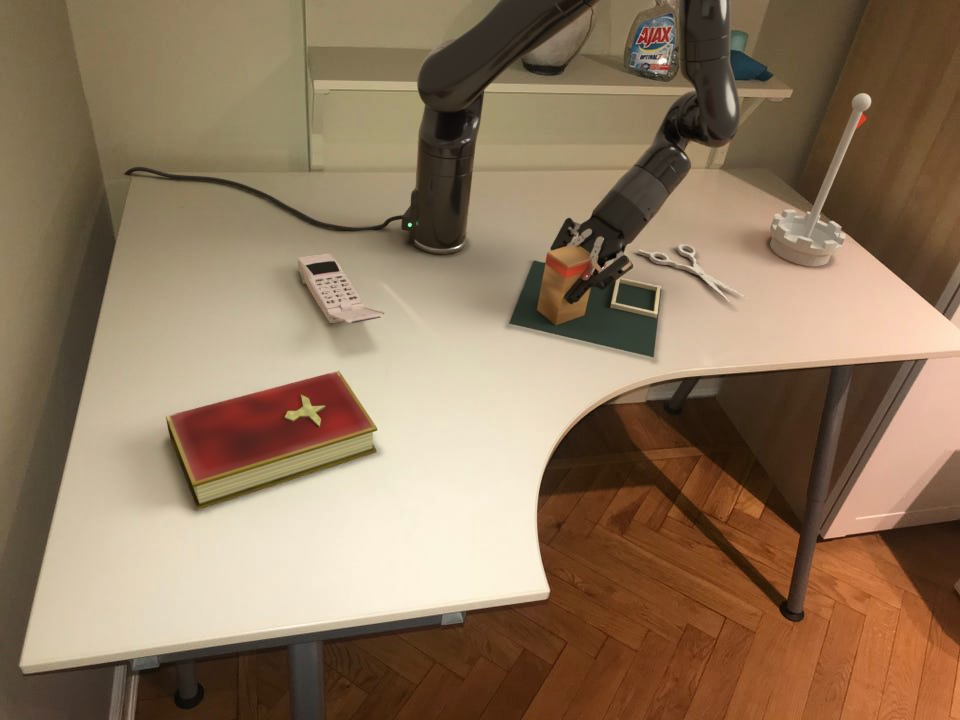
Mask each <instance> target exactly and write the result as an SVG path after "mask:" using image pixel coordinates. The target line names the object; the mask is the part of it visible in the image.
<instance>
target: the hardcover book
mask: <svg viewBox="0 0 960 720" xmlns="http://www.w3.org/2000/svg"><path fill="white" fill-rule="evenodd" d="M165 421H166V425H167V431H168V436H169V440H170V443H171V445H172V448H173V451H174V453H175V456H176V458H177V462H178V463H179V467H180V469H181V471H182V474H183V476H184V479H185V482H186V484H187V487H188V489H189V492H190V495H191V497H192V500H193V504H194V505H195V508H196V510H197V511H199V510H202V509H205V508H208V507H211V506H214V505H217V504H221V503H223V502H227V501H230V500H233V499H236V498H239V497H242V496H245V495H248V494H251V493H255V492H257V491H261V490H263V489H267V488H270V487H274V486H276V485H279V484H283V483H285V482H288V481H291V480H295V479H298V478H302V477H304V476H308V475H310V474H313V473H316V472H320V471H322V470H325V469H329V468H331V467H334V466H338V465H341V464H344V463H347V462H351V461H353V460H357V459H360V458H363V457H366V456H368V455H369V456H370V455H373V454H375V453H377V452H378V451H377V448H376V446H375V445H374V443H373V439H374V438H373V436H374V432H378V427H377V425H376V424H375V422H374V421H373V420H372V418H371V417H370V415H369V413H368V412H367V410H366V409H365V407H364V405H363V404H362V402H361V401H360V400H359V398H358V397H357V395H356V394H355V392H354V391H353V389H352V388H351V386H350V385H349V383H348V382H347V380H346V378H345V377H344V376H343V374H342V373H341V372H340V370H336V371H333V372H332V371H331V372H328V373H325V374H321V375H317V376H313V377H310V378H305V379H302V380H298V381H294V382H290V383H287V384H283V385H279V386H276V387H275V386H274V387H271V388H267V389H264V390H260V391H255V392H252V393H248V394H246V395H241V396H238V397H234V398H230V399H226V400H223V401H219V402H214V403H211V404H206V405H203V406H199V407H195V408H192V409H188V410H184V411H181V412H175V413H173V414H169V415H165Z"/></svg>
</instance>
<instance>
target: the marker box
mask: <svg viewBox="0 0 960 720" xmlns="http://www.w3.org/2000/svg"><path fill="white" fill-rule="evenodd" d="M590 254H591V253H589V252H588V251H586V250H585V249H584V248H582V247H581V246H577V247H575V246H573V245H569V246H566V247H562V248H559V249H555V250H552V251H551V250H549V251H547V253H546V256H545V257H546V258H545V262H544V263H545V269H544V274H543V280H542V285H541V290H540V296H539V301H538V306H537V311H539V312H540V313H541V314H542V315H544V316H545V317H546V318H547V319H548V320H550V321H551V322H552V323H553V324H555V325H558V324H561V323H564V322H566V321H569V320H572V319H575V318H578V317H580V316H583V315H585V310H586V306H587V302H588V298H589V293H590V289H591V288H589V289H588V290H587V292H586V293H585V294H584V295H583V296H582V297H581V299H580V300H579V301H578V302H576V303H575V302H574V303H573V304H570V303H568V302H567V301H566V300H565V299H564V295H565V294H566V293H567V292H568V290H569V289H570V288H571V287H572V286H573V285H574V283H575V282H576V281H577V280H578V279H579V278H580V279H582V275H583V273H584V271H585V270H586V269H587V268H588V267H589V263H590V261H591V260H592V258H590V257H589V256H590ZM597 261H598V260H597Z"/></svg>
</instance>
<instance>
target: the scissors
mask: <svg viewBox="0 0 960 720" xmlns="http://www.w3.org/2000/svg"><path fill="white" fill-rule="evenodd" d="M685 249H686V250H688V251H690V252H687V251H685ZM696 251H697V250H696V249H695V248H694V247H693V246H692V245H689V244H685V243H682V244H679V245H678V246H677V252H678V254H679V255H680V256H682V257H686V258H688V259H689V260H690V261H691V264H692V266H691V265H688V264H681V263H679V262H676V261H674V260H672V259H671V258H670V257H669V255H668V254H666V253H663V252H659V251H652V252H649V251H645V250H643V249H639V250H638V252H637V253H638V255H640V256H641V255H642V256H645V257H647V258H648V259H649V260H650V261H651V262H653V263H654V264H657V265H661V266H662V265H663V266H671V267H674V268H676V269H682V270H685V271H687V272H688V273H691V274H693V275H696V276H699V277H700V278H701V279H702V280H703V281H704V282H705V283H706V284H708V286H709V287H711V288H712V289H713V290H714V291H715V292H716V293H717V294H719V295H720V296H721V298H723V299H725V301H727V302H728V303H730V304H731V305H733V303H732V302H731V301H730V300H729V298H728V297H726V295H725V294H724V293H723V292H722V291H721V290H720V288H718V286H717V285H719V286H720V287H723V288H725V289H727V290H729V291H731V292H734V293H735V294H738V295H740V296H742V297H744V298H746V299H748V297H747V296H746V295H743V294H742V293H740V292H739V291H737V290H735V289H733V288H732V287H730V286H728V285H727V284H725V283H724V282H723V281H720V280H718V279H717V278H714V277H713V276H711V275H710V274H708V273H706V271H705V270H704V269H703V268H702V267H701V266H700V265H699V264H698V263H697V258H695V256H696ZM657 257H658V258H661V259H658V258H657Z"/></svg>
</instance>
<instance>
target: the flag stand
mask: <svg viewBox="0 0 960 720" xmlns="http://www.w3.org/2000/svg"><path fill="white" fill-rule="evenodd" d="M871 104H872V98H871V96H870V95H869V94H867V93H864V92H863V93H862V92H861V93H858V94H856V95H855V96H854V97H853V98H852V101H851V107H852V111H851V114H850V116H849V119H848V121H847V124H846V126H845V129H844V131H843V134H842V136H841V139H840V141H839V144H838V145H837V148H836V150H835V152H834V156H833V157H832V160H831V163H830V165H829V167H828V169H827V171H826V174H825V177H824V179H823V182H822V184H821V187H820V189H819V192H818V194H817V195H816V198H815V201H814V204H813V206H812V208H811V211H806V213H805V215H800V214H799V215H797V213H798V212H797V211H796V209H783V210H782V212H781V214H779V213H775V214H774V216H773V219H772V222H771V224H770V228H769V230H770V234H771V235H772V237H771V240H770V243H769V246H770V248H771V251H773V252H774V254H776V255H777V256H779V257H781V258H782V259H784V260H785V261H788V262H791V263H793V264H797V265H801V266H806V267H820V266H824V265H826V264H828V263H829V262H830V259H831V256H832V255H833V254H836V253H838V252H840V250H841V249H842V246H843V244H844V242H845V240H846V238H847V234H846V233H844V232H840V231H841V230H842V229H843V228H842V226H841V225H840V224H838V223H837V222H835V221H834V220H831V221H828V223H825V222H823V221H820V218H821V214H820V213H821V211H822V209H823V207H824V205H825V202H826V200H827V197H828V195H829V193H830V190H831V189H832V186H833V184H834V180H835V178H836V176H837V174H838V172H839V169H840V167H841V164H842V162H843V159H844V157H845V155H846V152H847V150H848V147H849V145H850V143H851V140H852V139H853V136H854V133H855V131H856V130H857V129H858V128H859V127H861V125H862V124H863V123H864V122H865V121H866V120H867V119H868V118H867V116H866V115H865V114H864V113H863V112H865V111H867V110H868V109H869V108H870V107H871Z"/></svg>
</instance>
